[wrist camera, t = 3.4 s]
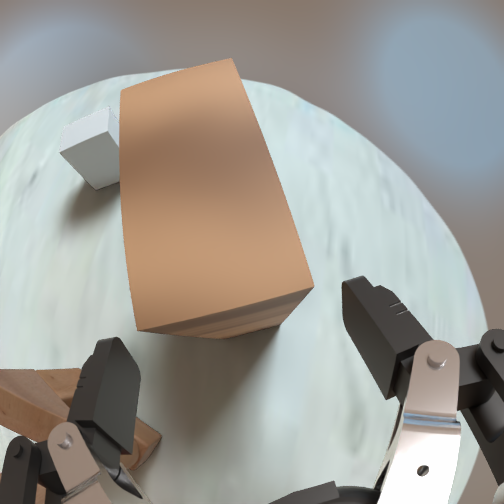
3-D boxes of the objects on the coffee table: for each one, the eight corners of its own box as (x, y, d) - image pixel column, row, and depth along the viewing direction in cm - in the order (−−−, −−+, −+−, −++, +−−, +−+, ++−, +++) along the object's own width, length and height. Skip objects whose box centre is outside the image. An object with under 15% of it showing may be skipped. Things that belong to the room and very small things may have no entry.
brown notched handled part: (79, 366, 24) (-72, 362, 7) (164, 434, 22) (40, 524, 5) (66, 392, 23) (-76, 403, 6) (147, 459, 21) (30, 550, 4)
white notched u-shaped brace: (95, 190, 30) (59, 152, 22) (96, 166, 31) (63, 127, 23) (248, 143, 31) (243, 90, 23) (240, 121, 32) (234, 68, 24)
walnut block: (280, 324, 25) (314, 286, 8) (224, 339, 25) (137, 330, 8) (251, 219, 28) (231, 58, 11) (199, 233, 28) (120, 90, 11)
